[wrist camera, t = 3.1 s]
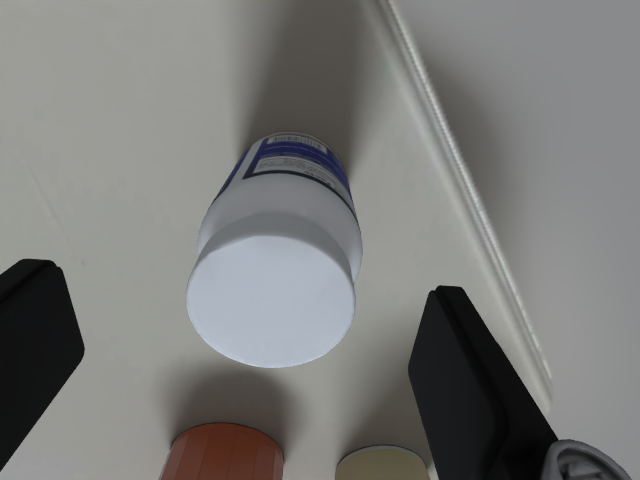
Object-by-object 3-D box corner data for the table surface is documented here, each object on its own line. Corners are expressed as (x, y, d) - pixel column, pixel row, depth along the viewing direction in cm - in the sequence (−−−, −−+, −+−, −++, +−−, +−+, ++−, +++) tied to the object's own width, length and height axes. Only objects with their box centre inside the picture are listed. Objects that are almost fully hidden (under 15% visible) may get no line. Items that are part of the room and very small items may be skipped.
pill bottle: (281, 252, 21) (254, 406, 12) (213, 171, 18) (115, 288, 10) (369, 198, 19) (411, 330, 10) (305, 103, 17) (291, 168, 8)
